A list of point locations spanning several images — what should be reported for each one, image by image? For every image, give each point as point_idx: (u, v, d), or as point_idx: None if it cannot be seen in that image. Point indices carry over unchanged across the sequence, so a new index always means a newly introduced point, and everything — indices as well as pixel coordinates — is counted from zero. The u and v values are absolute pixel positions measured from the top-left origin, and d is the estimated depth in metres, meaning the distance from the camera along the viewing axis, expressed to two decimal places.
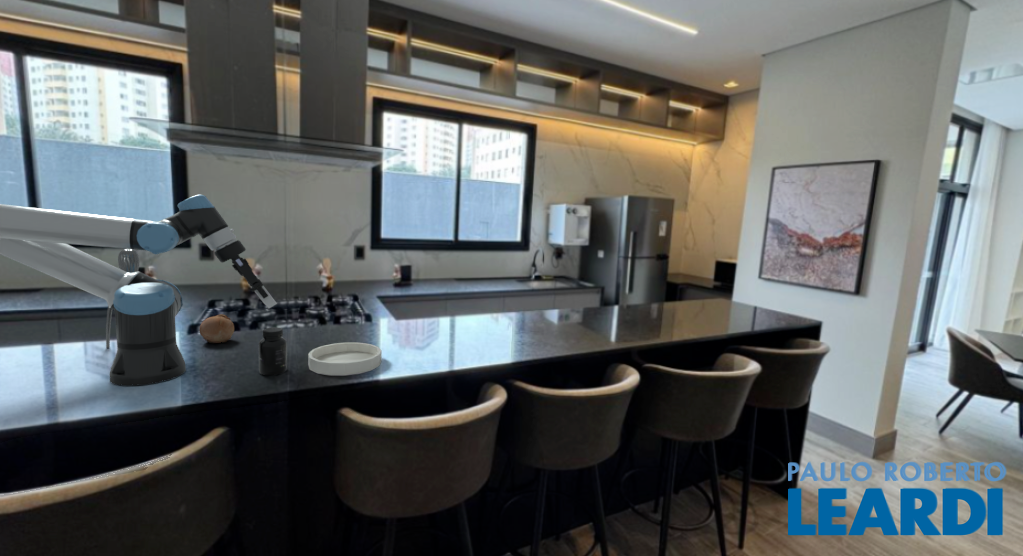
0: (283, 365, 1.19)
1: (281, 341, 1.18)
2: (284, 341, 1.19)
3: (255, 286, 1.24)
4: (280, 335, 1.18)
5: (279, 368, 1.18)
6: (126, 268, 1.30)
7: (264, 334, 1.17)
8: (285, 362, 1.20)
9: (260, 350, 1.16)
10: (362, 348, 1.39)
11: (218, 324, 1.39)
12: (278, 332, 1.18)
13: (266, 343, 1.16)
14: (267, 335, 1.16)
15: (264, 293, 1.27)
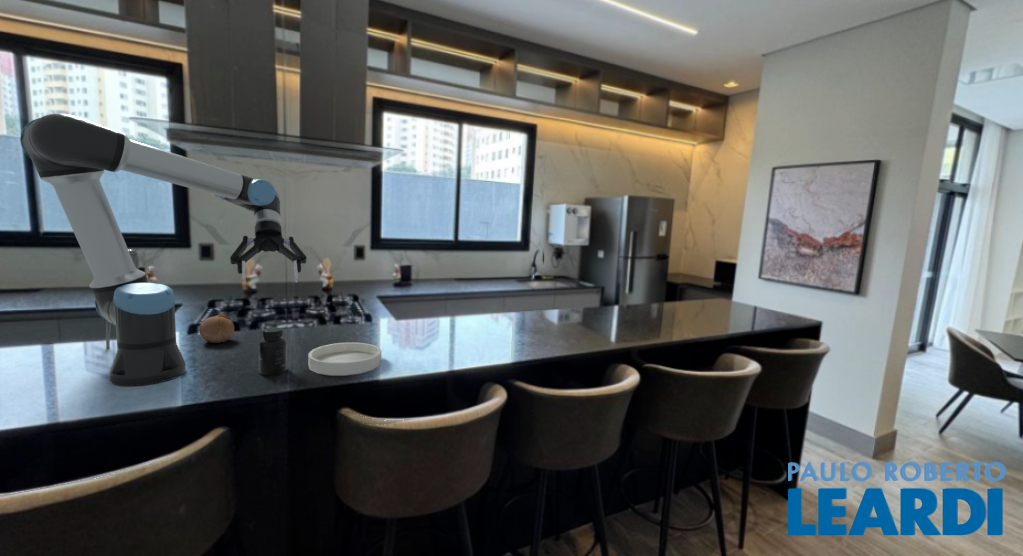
0: (283, 365, 1.19)
1: (281, 341, 1.18)
2: (284, 341, 1.19)
3: (306, 258, 1.37)
4: (280, 335, 1.18)
5: (279, 368, 1.18)
6: None
7: (264, 334, 1.17)
8: (285, 362, 1.20)
9: (260, 350, 1.16)
10: (362, 348, 1.39)
11: (218, 324, 1.39)
12: (278, 332, 1.18)
13: (266, 343, 1.16)
14: (267, 335, 1.16)
15: (300, 268, 1.35)
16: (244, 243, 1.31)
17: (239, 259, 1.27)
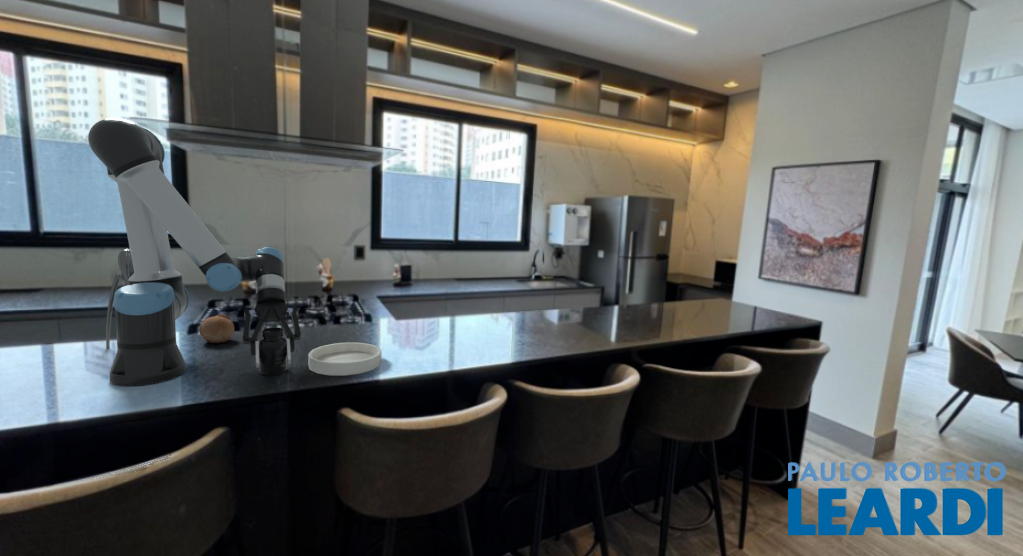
0: (283, 365, 1.19)
1: (281, 341, 1.18)
2: (284, 341, 1.19)
3: (300, 335, 1.24)
4: (280, 335, 1.18)
5: (279, 367, 1.18)
6: (126, 268, 1.30)
7: (264, 334, 1.17)
8: (285, 362, 1.20)
9: (260, 350, 1.16)
10: (362, 348, 1.39)
11: (218, 324, 1.39)
12: (278, 331, 1.18)
13: (266, 343, 1.16)
14: (267, 335, 1.16)
15: None
16: (249, 318, 1.20)
17: (252, 339, 1.17)
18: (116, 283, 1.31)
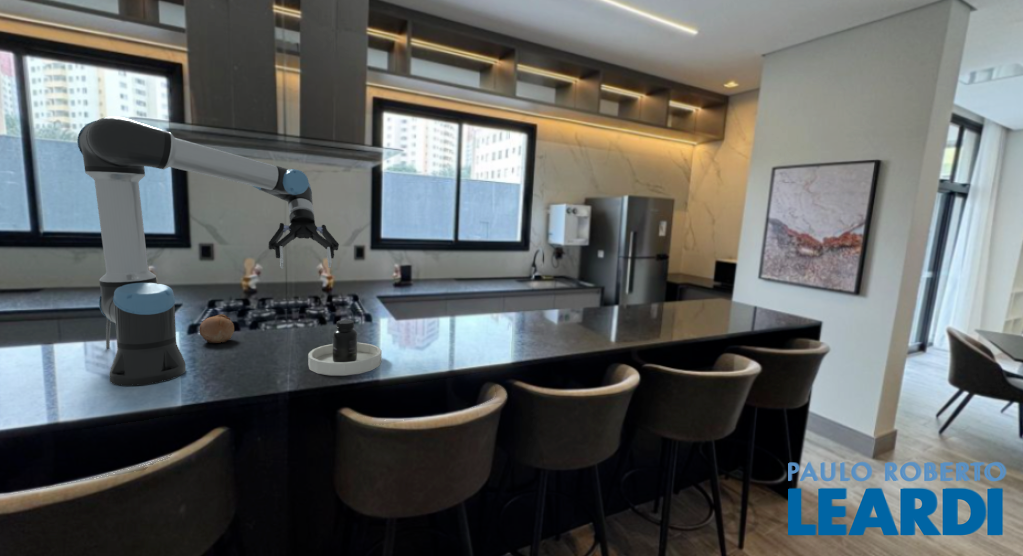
0: (355, 355, 1.29)
1: (353, 332, 1.28)
2: (355, 332, 1.29)
3: (338, 245, 1.44)
4: (352, 327, 1.28)
5: (352, 357, 1.28)
6: None
7: (338, 326, 1.26)
8: (356, 352, 1.29)
9: (335, 340, 1.26)
10: (362, 348, 1.39)
11: (218, 324, 1.39)
12: (351, 323, 1.27)
13: (341, 334, 1.25)
14: (341, 326, 1.26)
15: (333, 254, 1.42)
16: (281, 230, 1.38)
17: (277, 244, 1.34)
18: None
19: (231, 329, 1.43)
